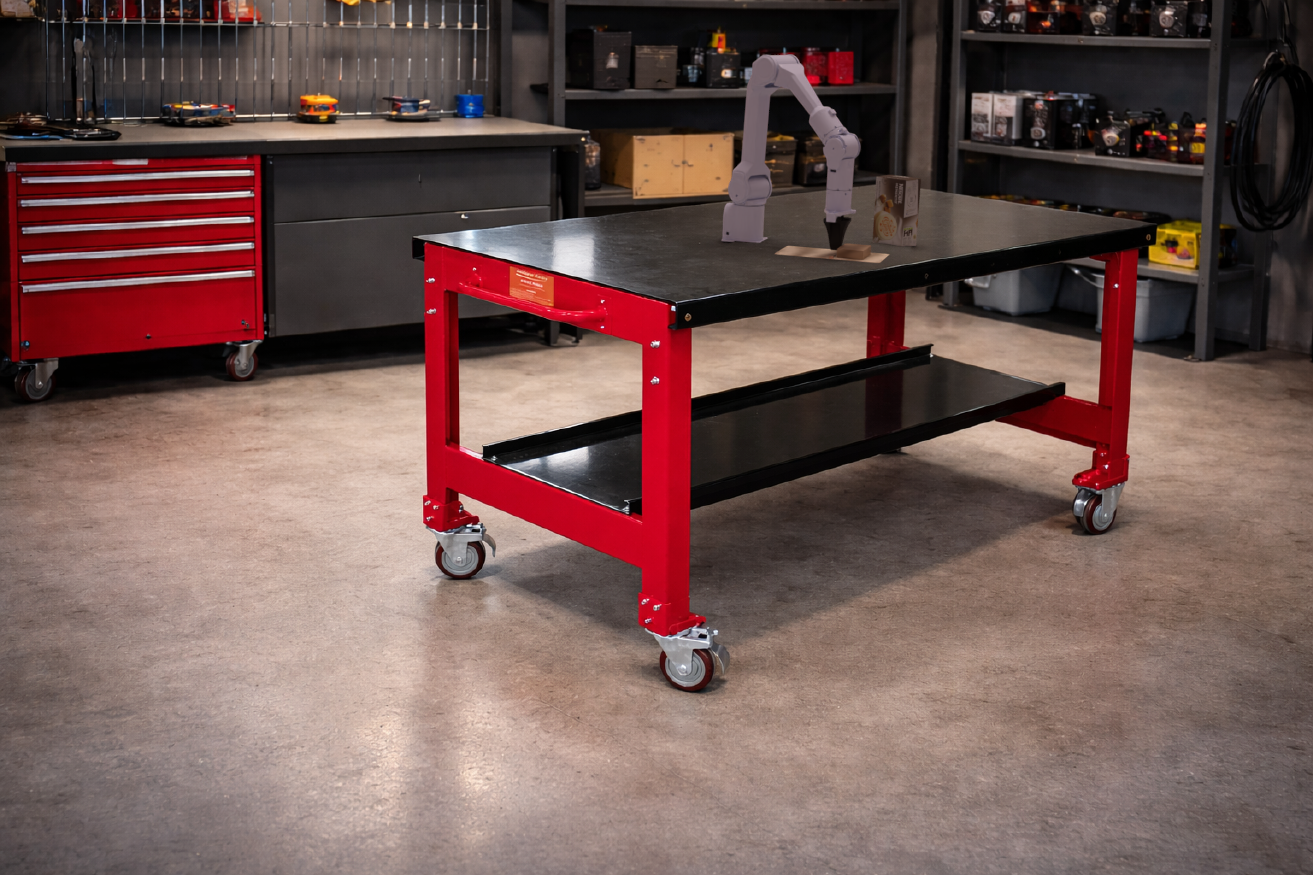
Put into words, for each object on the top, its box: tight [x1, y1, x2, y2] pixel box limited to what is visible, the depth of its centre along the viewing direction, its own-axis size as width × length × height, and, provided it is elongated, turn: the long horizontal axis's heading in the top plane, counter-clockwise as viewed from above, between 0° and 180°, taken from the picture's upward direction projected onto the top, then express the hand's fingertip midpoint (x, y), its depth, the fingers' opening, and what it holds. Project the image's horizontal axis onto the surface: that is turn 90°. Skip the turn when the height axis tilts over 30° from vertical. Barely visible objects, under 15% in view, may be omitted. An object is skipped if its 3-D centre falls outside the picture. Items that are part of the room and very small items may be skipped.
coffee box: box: [871, 174, 922, 247], centre depth 324 cm, size 9×6×16 cm
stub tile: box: [837, 243, 872, 260], centre depth 307 cm, size 6×8×2 cm
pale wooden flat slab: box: [774, 245, 890, 264], centre depth 309 cm, size 24×12×1 cm, turn 71°
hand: (835, 249), depth 308 cm, fingers closed, pressing on stub tile
